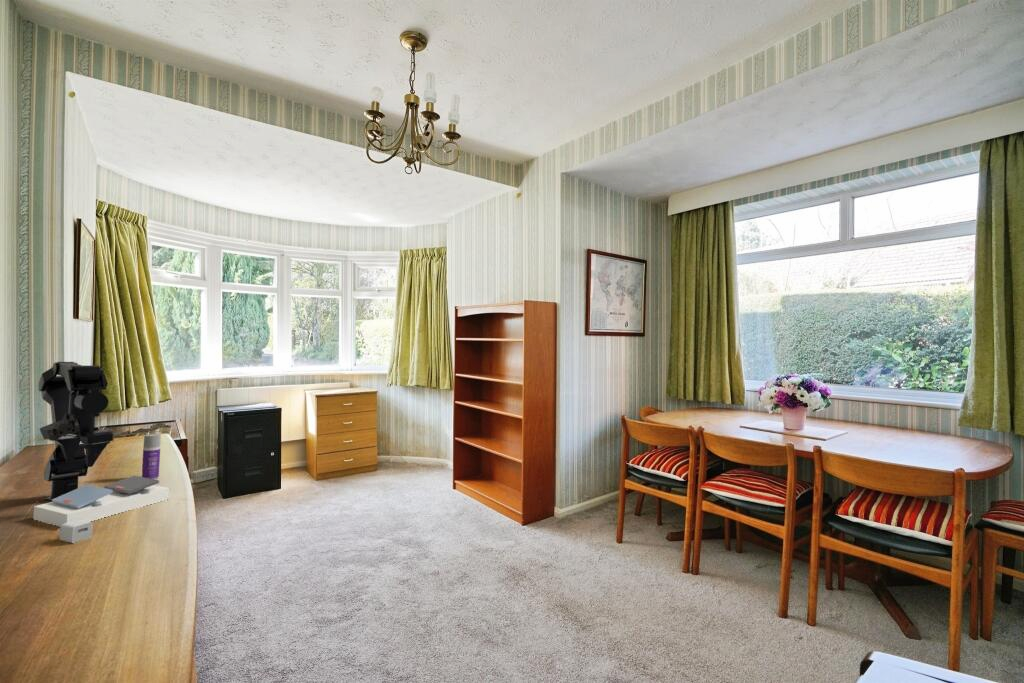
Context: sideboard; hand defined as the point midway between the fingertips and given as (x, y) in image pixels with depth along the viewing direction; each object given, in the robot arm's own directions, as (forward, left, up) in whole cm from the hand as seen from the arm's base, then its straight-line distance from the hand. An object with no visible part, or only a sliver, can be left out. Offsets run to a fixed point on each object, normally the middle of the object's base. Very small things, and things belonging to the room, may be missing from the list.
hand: (79, 464), depth 132 cm
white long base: (+8, +2, -12) cm, 15 cm away
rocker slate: (+8, -3, -7) cm, 11 cm away
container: (-12, +27, -12) cm, 32 cm away
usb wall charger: (+23, -13, -12) cm, 29 cm away
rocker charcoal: (+8, +9, -7) cm, 14 cm away
